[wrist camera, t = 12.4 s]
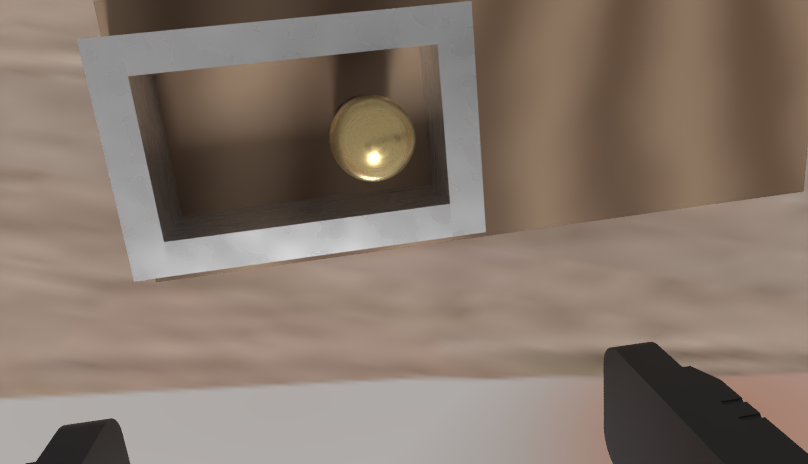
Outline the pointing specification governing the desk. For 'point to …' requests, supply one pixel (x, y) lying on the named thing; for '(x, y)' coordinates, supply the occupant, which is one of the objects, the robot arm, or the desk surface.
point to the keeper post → (372, 137)
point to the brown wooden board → (506, 107)
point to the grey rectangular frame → (297, 220)
